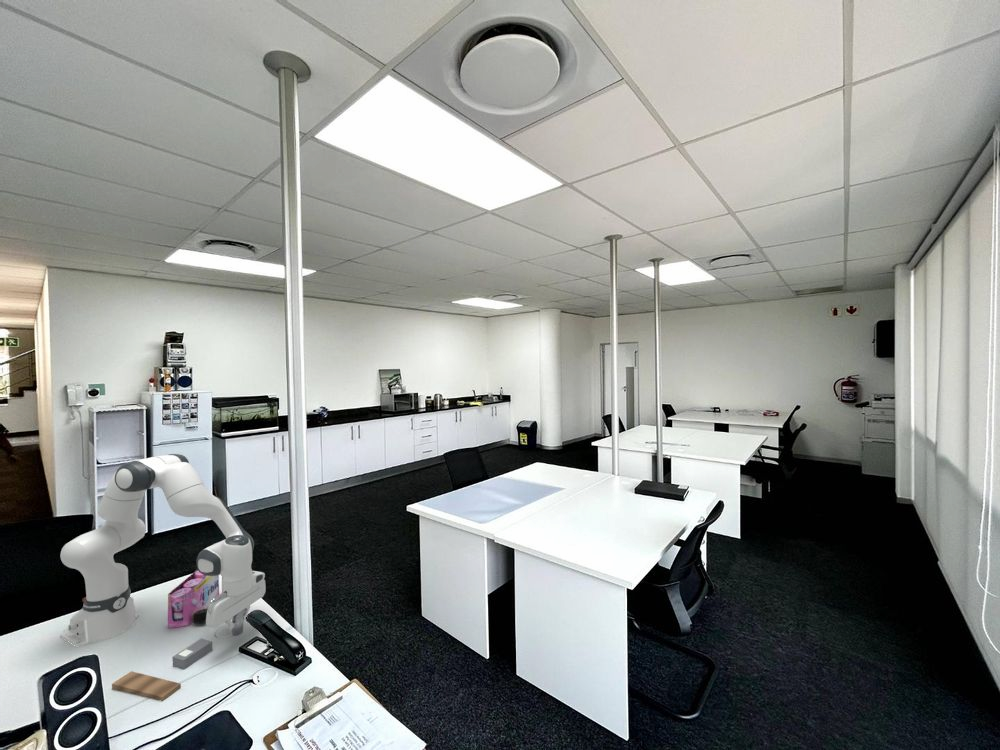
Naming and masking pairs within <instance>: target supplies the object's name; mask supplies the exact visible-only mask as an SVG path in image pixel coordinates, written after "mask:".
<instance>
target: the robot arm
mask: <svg viewBox="0 0 1000 750" xmlns="http://www.w3.org/2000/svg"><path fill="white" fill-rule="evenodd" d="M155 488H159V489H161V490H162V492H163V493H164V496H165V498H166V501H167V504H168V506H169V508H170V509H171V511H172V512H173V513H174V514H176V515H178V516H181V517H186V518H208V519H210V520H211V521H213V522H214V523H215V524H216V525H217V527H218V528H219V529H220V531H221V532H222V534H223V535H224V536H225V539H223V540H221V541H218V542H216V543H213V544H212V545H210V546H207V547H206V548H204V549H202V550H201V551H200V552H198V555H197V558H196V570H197V569H198V571H199V572H200V573H201V574H203V575H207V576H217V575H219V576H221V593H219V595H218V596H217V597H215V598H213V599H212V601H211V602H210V603H209V604H208V607H207V608H208V610H207V615H206V621H205V626H206V627H208V628H211V629H217V628H218V627H219V626H221V625H222V624H224V623H225V624H227V629H228V630H230V631H232V629H233V628H234V627H235V622H233V621H232V619H233V616H235V615H236V614H238V613H239V612H241V611H242V610H243V622H244V621H246V620H247V619H246V617H247V618H248V613H249V611H250V609H251V605H252V604H254V603H256V602H257V601H258V600H260V599H262V598H263V597H264V596H265V594H266V580H265V577H266V574H265V572H263V571H257V570H253V569H252V563H253V552H254V547H255V541H254V539H253V537H252V536H251V535H250V534H249V533H248V532H247V530H245V529H244V528H243V526H242V525H241V523H239V521H238V519H237V518H236V517H235V515H234V514H233V513H232V511H231V510H230V508H229V507H228V505H227V504H226V503H225V502H224V500H223V499H221V498H219V497H217V496H215V495H213V494H212V493H211V492H210V491H209V490H208V488H207V487H206V485H205V483H204V481H203V480H202V478H201V476H200V474H199V473H198V471H197V470H196V469H195V467H194V466H193V465H192V464H190V461H189V459H188V458H187V457H186V456H184V454H179V453H170V454H164V455H156V456H151V457H147V458H142V459H139V460H133V461H129V462H126V463H124V464H122V465H120V466H119V468H117V469H116V470H115V472H114V474H113V475H112V477H111V478H110V480H109V482H108V484H107V486H106V487H105V491H104V492H103V495H102V498H101V500H100V503H99V505H98V508H97V515H98V516H99V517H100V519H102V520H104V521H105V522H104V524H103V525H102V526H101V527H98V528H96V529H92V530H90V531H88V532H85V533H83V534H80V535H79V536H76V537H75V538H73V539H72V540H70V541H69V542H67V543H65V544H64V545H63V547H62V548H61V551H60V556H59V557H60V560H61V562H62V564H63V565H64V566H65V567H67V568H69V569H75V570H76V571H78V572H80V574H81V575H82V576H83V578H84V584H85V594H86V596H85V597H83V598H82V601H81V602H83V606H82V608H81V609H80V610H79V611H78V612H76V613H75V614H74V615H72V617H70V620H69V624H68V627H67V628H66V629H65V630H64V631H62V632H61V633H60V634H59V637H60V638H61V639H62V638H63V639H62V640H64V639H65V640H67V641H69V642H70V643H72V644H73V645H75V646H81V647H83V646H82V645H84V646H86V645H89V644H93V643H99V642H103V641H107V640H110V639H113V638H115V637H117V636H119V635H121V634H123V633H126V632H127V631H129V630H130V629H132V628H133V627H134V625H136V622H137V621H136V620H137V619H138V618H139V617H140V614H139V612H136V607H135V601H134V598H133V597H131V592H132V591H131V586H130V585H129V569H128V566H126V565H125V564H122V563H119V562H116V561H115V559H114V555H115V554H117V553H118V552H121V551H123V550H125V549H127V548H129V547H131V546H133V545H135V544H136V543H137V542H139V541H140V540H141V539H143V538H144V536H145V534H146V531H147V530H146V524H145V522H144V521H143V520H142V519H140V518H139V510H140V507H141V505H142V502H143V500H144V496H145V494H146V491H147V490H150V489H155ZM65 640H64V641H65ZM67 641H66V642H67ZM70 643H69V644H70ZM72 644H71V645H72ZM73 645H72V646H73ZM75 646H74V647H75Z"/></svg>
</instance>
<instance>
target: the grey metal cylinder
mask: <svg viewBox="0 0 1000 750" xmlns="http://www.w3.org/2000/svg"><path fill="white" fill-rule="evenodd" d="M231 621H233V622H235V627H234V628H233V629H231V636H233V637H238V636H240V635H242V634H243V633H244V621H243V610H242V611H241V612H239V613H238V614H236V615H235V616H233V619H232V620H231Z"/></svg>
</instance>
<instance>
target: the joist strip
mask: <svg viewBox="0 0 1000 750" xmlns="http://www.w3.org/2000/svg"><path fill="white" fill-rule="evenodd" d="M181 687H182V685H181V683H180V682H175V681H172V680H167V679H164V678H160V677H156V676H153V675H147V674H144V673H139V672H136V671H133V670H132V671H129V672H127V673H126V674H124V675H123V676H122V677H120V678H119V679H117V680H116V681H114V682H113V683H111V689H112V691H118V692H123V693H127V694H131V695H135V696H138V697H139V696H140V697H143V698H146V699H147V698H148V699H152V700H156V701H159V700H161V701H160V702H164V701H165V700H166V699H168V698H169V697H171V696H172V695H173V694H174V693H176V692H177V691H178V690H180V689H181ZM163 700H164V701H163Z"/></svg>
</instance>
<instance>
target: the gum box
mask: <svg viewBox="0 0 1000 750" xmlns="http://www.w3.org/2000/svg"><path fill="white" fill-rule="evenodd" d="M219 576H220V575H217V576H207V575H203V574H201V573H200V572H199V571H198V569H197V568H196V570H194V572H193V573H191V574H190V575H189V576H188V577H187V578H186V579H184V580H183V581H182V582H180V583H179V584H178V585H177V586H175V588H173V589H172V590H171V591H170V592H169V593H168V594H167V629H171V628H181V627H189V626H190V625H192V623H194V622H193V615H194V613H195V612H197V611H199V610H202V609H206V608H208V604H209V603H210V602H211V601H212V599H213V598H215V597H217V596H218V595H220V577H219Z"/></svg>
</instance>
